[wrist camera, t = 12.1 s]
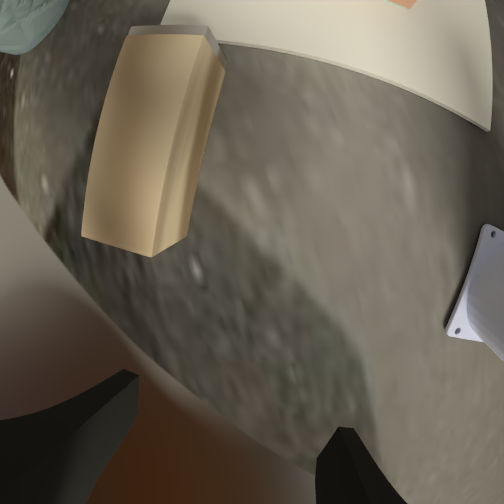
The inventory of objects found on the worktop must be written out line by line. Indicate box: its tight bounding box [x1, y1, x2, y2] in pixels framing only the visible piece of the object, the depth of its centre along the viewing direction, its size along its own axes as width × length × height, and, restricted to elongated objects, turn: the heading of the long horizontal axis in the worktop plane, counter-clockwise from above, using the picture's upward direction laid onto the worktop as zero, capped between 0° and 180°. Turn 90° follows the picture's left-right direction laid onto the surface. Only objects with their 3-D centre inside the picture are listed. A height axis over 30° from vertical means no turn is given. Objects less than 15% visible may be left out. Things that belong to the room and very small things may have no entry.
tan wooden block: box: [81, 25, 228, 257], centre depth 13 cm, size 4×11×5 cm, turn 166°
